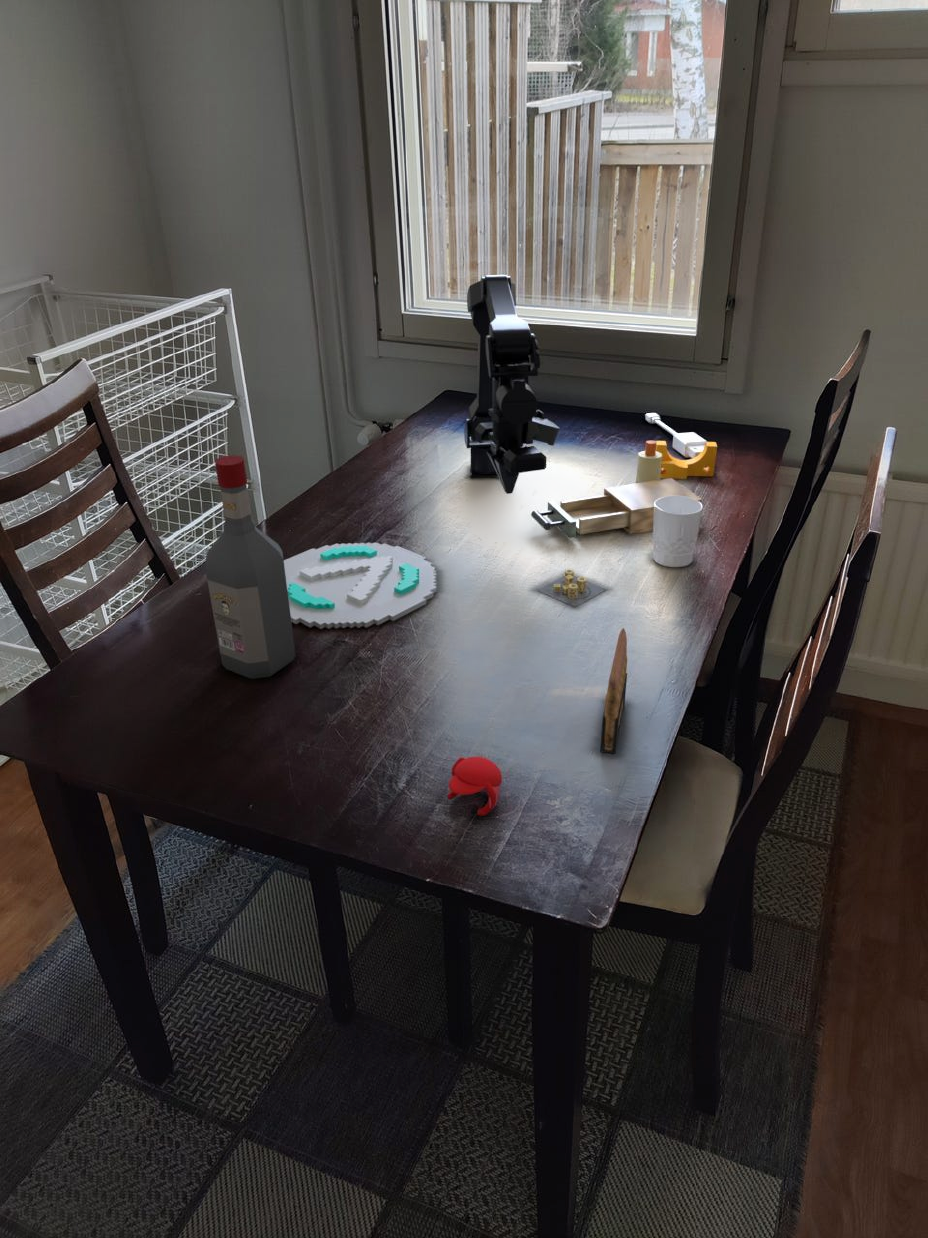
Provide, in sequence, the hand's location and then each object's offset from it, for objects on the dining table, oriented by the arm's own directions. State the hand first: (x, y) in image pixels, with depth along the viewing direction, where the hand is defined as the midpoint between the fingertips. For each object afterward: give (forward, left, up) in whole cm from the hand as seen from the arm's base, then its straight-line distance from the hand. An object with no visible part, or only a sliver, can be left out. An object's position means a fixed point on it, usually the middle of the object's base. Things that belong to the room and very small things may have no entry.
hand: (508, 492), depth 160 cm
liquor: (-36, -40, -9) cm, 55 cm away
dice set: (+10, -19, -9) cm, 23 cm away
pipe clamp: (+37, +31, -9) cm, 49 cm away
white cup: (+28, -8, -9) cm, 30 cm away
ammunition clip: (+12, -56, -9) cm, 58 cm away
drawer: (+13, +5, -8) cm, 16 cm away
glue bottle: (+28, +21, -9) cm, 36 cm away
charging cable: (+39, +52, -9) cm, 65 cm away
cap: (-5, -70, -9) cm, 71 cm away
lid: (-26, -17, -9) cm, 33 cm away
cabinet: (+27, +10, -9) cm, 30 cm away
